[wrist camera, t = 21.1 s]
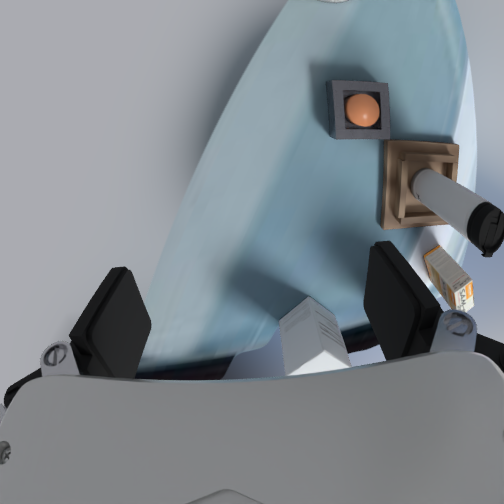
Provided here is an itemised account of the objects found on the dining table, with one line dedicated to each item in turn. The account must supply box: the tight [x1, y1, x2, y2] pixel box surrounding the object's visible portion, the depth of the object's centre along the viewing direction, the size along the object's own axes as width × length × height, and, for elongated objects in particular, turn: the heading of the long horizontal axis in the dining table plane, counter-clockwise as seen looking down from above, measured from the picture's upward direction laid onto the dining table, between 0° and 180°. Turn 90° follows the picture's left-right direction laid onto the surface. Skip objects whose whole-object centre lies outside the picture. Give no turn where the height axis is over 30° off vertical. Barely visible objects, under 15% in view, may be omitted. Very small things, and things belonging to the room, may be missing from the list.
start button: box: [344, 94, 379, 126], centre depth 37 cm, size 5×5×3 cm
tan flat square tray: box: [380, 139, 459, 230], centre depth 43 cm, size 16×16×4 cm
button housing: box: [326, 80, 390, 139], centre depth 38 cm, size 9×9×4 cm
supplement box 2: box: [424, 245, 474, 312], centre depth 48 cm, size 8×5×13 cm, turn 35°
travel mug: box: [411, 168, 504, 257], centre depth 35 cm, size 6×7×20 cm
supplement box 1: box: [279, 296, 352, 376], centre depth 53 cm, size 9×9×15 cm
